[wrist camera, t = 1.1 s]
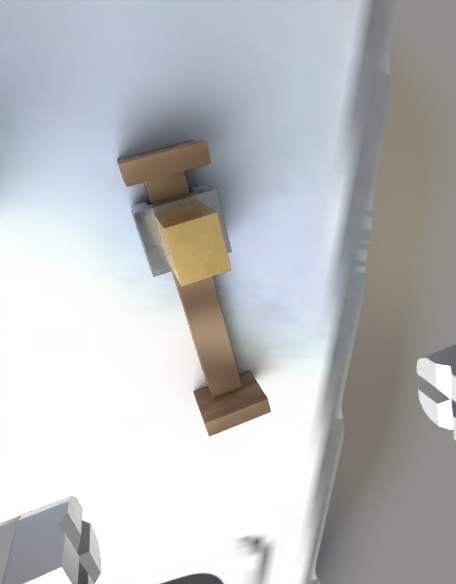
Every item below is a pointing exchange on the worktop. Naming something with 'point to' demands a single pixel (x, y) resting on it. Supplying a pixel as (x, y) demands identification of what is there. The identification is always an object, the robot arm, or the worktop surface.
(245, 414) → the rail
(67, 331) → the worktop surface
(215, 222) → the slider
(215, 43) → the worktop surface
